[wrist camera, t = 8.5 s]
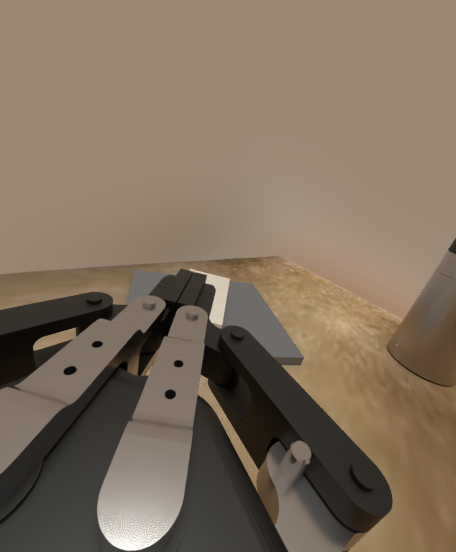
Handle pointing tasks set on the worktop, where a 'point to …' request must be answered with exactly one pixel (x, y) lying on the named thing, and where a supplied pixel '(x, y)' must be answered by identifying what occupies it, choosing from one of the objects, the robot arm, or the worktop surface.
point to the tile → (217, 297)
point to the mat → (237, 315)
